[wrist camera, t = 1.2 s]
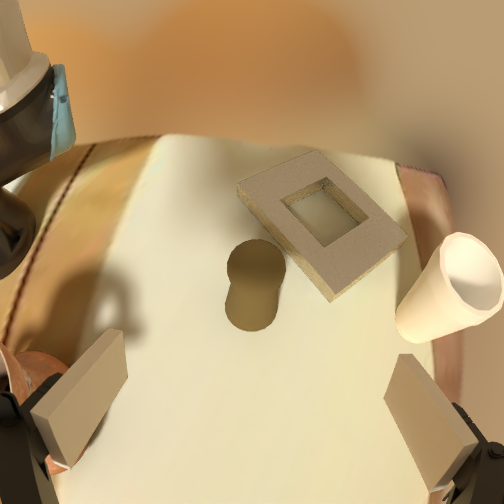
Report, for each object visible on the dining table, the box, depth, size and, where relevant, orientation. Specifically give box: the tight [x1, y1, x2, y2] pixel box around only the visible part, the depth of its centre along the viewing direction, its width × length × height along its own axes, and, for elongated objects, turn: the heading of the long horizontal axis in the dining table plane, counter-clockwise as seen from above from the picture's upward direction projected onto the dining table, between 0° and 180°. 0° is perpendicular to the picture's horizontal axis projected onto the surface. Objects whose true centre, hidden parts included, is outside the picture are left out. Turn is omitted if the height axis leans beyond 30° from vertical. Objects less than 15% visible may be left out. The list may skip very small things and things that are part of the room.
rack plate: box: [237, 150, 408, 303], centre depth 42 cm, size 20×15×2 cm
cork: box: [225, 240, 286, 331], centre depth 31 cm, size 6×6×11 cm
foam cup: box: [395, 232, 504, 343], centre depth 30 cm, size 10×9×13 cm
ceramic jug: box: [0, 342, 89, 475], centre depth 20 cm, size 18×14×14 cm
